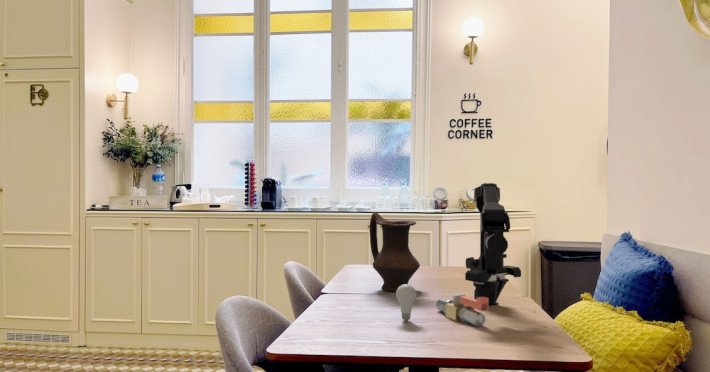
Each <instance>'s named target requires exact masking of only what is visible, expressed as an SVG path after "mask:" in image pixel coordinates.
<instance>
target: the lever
mask: <svg viewBox="0 0 710 372" xmlns="http://www.w3.org/2000/svg"><path fill="white" fill-rule="evenodd" d="M452 300H453V304H454V305H466V306H469V307H472V308H474V309H475V310H477V311H479V312H483V311H489V305H488V298H487V297H477V300H476V299H474V298H473V297H469V296H466V295H465V294H462V293H461V294H460V293H454V294H453V299H452Z"/></svg>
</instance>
